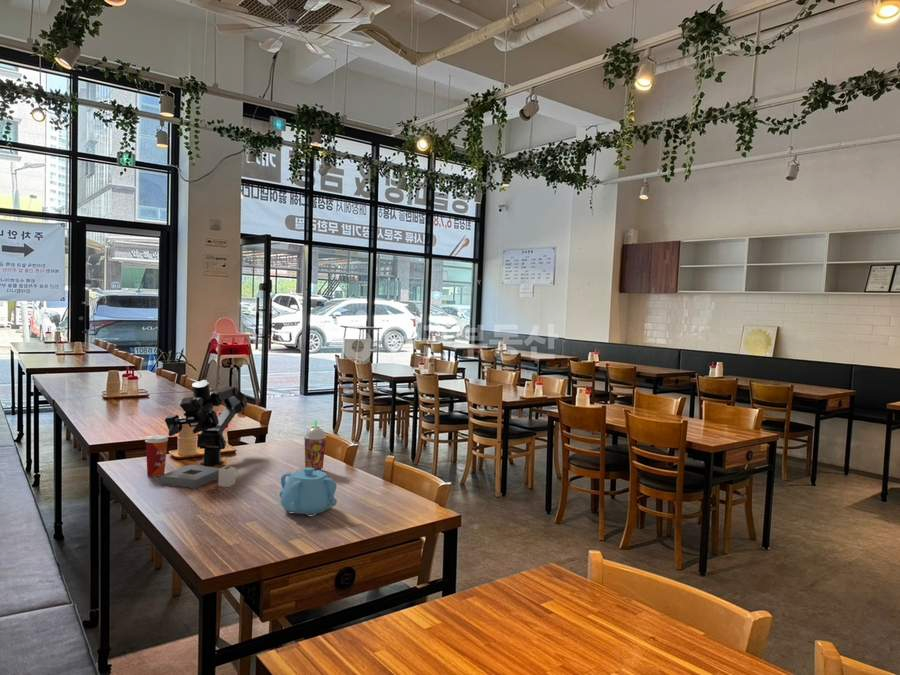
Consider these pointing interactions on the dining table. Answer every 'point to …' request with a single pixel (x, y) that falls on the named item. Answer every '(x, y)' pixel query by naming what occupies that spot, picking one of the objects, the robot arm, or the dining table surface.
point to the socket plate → (190, 476)
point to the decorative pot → (307, 491)
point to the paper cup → (156, 454)
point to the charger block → (226, 476)
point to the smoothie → (314, 448)
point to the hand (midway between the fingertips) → (181, 433)
